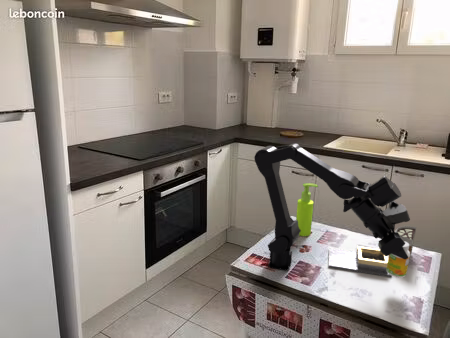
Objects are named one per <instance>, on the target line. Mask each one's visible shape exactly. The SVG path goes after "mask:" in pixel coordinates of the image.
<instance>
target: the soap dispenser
mask: <svg viewBox="0 0 450 338" xmlns="http://www.w3.org/2000/svg"><path fill="white" fill-rule="evenodd" d="M302 186H303V187H304V189H303V191H302V192H301V198H299V199H297V204H296V205H297V208H296V217H295V220H298V226H299V229H300V230H301V231H300V233H299V237H309V236H311V234H312V233H311V232H312V222H313V213H314V204H315V203H314V201H313V200H312V199H311V196H312V193H311V191H310V188H311V187H313V188H319V186H318V184H316V183H312V182H311V183H309V182H308V183H307V182H306V183H302Z"/></svg>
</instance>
